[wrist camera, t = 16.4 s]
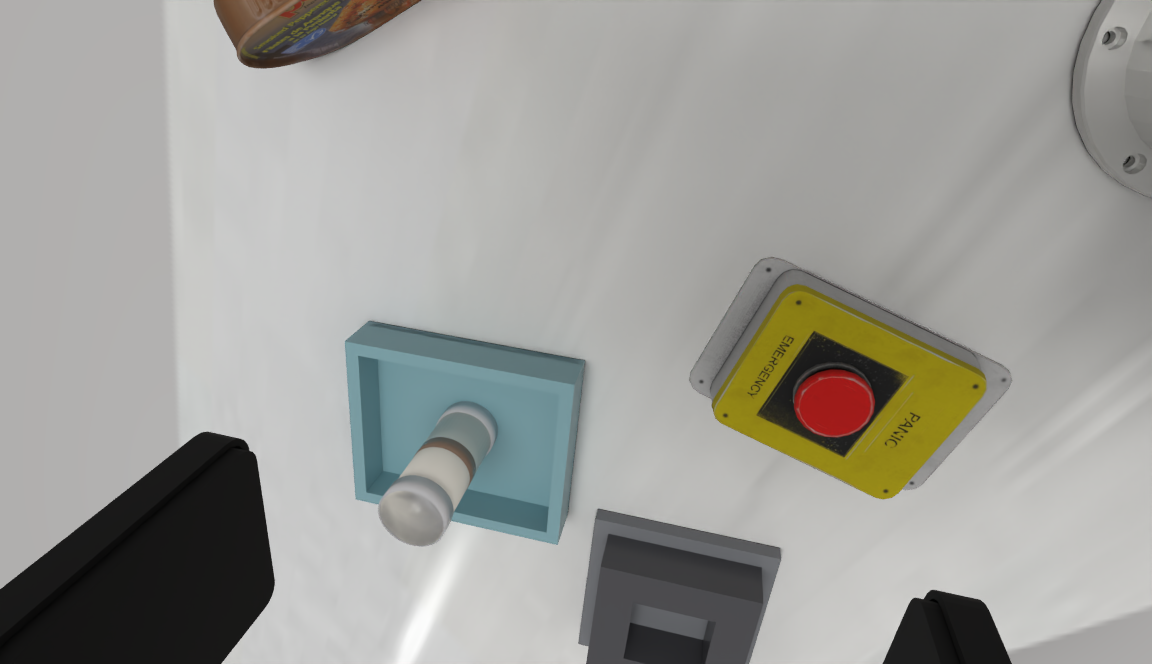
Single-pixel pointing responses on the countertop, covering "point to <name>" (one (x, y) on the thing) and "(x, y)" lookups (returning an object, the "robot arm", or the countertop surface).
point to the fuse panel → (673, 594)
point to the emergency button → (842, 381)
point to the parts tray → (476, 374)
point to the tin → (300, 26)
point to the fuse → (438, 475)
